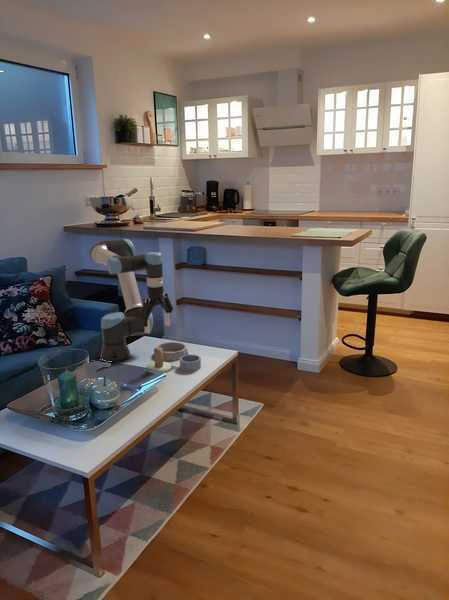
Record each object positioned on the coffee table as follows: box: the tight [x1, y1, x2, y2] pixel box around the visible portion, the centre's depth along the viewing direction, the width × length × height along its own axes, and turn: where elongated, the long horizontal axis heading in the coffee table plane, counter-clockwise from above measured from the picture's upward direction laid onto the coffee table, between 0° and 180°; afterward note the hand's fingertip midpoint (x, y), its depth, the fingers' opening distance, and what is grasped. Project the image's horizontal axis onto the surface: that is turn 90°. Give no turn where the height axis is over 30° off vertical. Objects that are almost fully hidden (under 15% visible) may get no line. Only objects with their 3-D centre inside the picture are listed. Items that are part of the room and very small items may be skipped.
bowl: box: [179, 354, 202, 372], centre depth 234 cm, size 10×10×6 cm
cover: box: [146, 347, 173, 373], centre depth 233 cm, size 12×12×10 cm
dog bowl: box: [155, 341, 189, 362], centre depth 251 cm, size 17×18×5 cm
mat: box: [145, 364, 179, 374], centre depth 234 cm, size 13×13×1 cm
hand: (157, 329), depth 229 cm, fingers open, 13 cm apart
